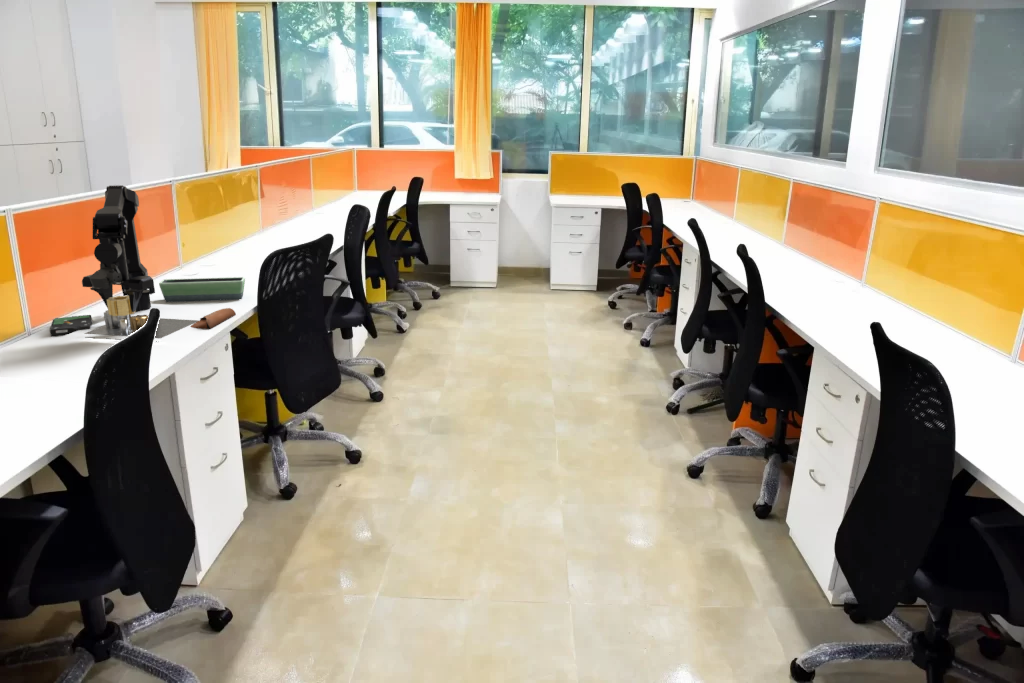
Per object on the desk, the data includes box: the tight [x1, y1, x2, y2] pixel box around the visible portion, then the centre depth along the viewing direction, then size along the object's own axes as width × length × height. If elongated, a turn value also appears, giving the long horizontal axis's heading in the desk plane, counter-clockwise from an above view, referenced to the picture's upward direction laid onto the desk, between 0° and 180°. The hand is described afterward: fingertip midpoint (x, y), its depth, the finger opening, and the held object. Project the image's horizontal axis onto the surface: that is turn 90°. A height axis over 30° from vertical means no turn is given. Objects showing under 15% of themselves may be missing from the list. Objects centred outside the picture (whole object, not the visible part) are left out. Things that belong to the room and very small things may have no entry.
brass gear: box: [106, 295, 136, 316], centre depth 208 cm, size 7×7×4 cm
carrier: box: [84, 309, 199, 343], centre depth 216 cm, size 20×24×6 cm
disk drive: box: [49, 314, 93, 338], centre depth 218 cm, size 10×3×15 cm
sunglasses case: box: [189, 307, 236, 330], centre depth 224 cm, size 18×7×7 cm, turn 177°
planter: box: [159, 276, 246, 303], centre depth 256 cm, size 28×7×7 cm, turn 103°
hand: (122, 311), depth 208 cm, fingers closed on brass gear, 7 cm apart
